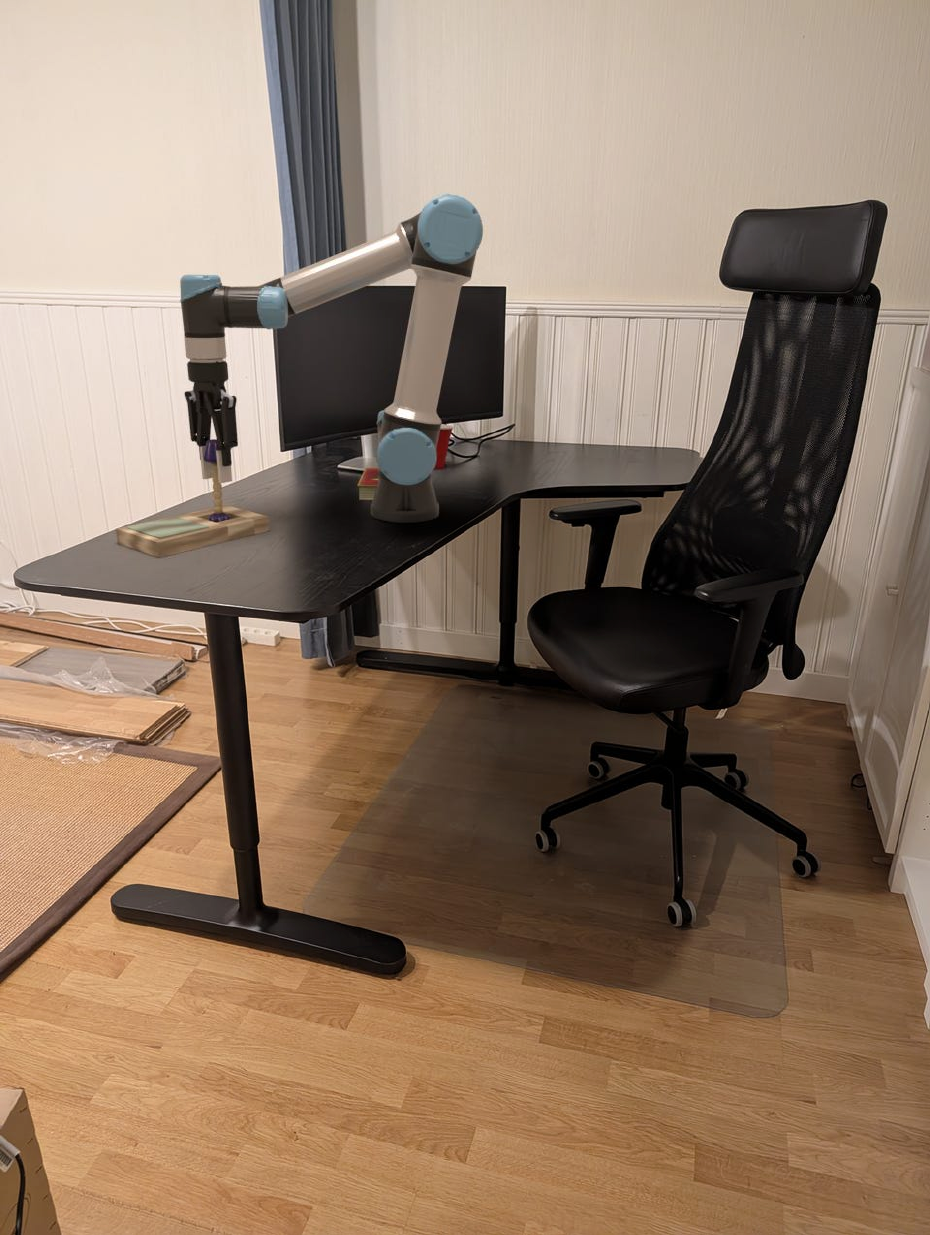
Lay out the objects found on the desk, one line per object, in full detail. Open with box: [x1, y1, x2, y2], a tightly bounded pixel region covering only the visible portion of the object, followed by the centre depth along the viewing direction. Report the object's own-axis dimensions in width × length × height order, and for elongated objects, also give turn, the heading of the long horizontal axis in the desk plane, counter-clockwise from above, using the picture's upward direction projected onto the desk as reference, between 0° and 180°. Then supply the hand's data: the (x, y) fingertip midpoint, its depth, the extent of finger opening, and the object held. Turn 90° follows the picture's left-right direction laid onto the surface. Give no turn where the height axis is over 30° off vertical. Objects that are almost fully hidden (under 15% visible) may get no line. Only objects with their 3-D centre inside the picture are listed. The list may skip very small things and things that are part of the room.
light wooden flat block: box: [115, 505, 270, 559], centre depth 180 cm, size 14×26×3 cm, turn 141°
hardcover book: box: [356, 467, 378, 501], centre depth 222 cm, size 12×21×4 cm, turn 0°
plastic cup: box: [433, 423, 455, 470], centre depth 248 cm, size 11×11×12 cm
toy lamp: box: [204, 438, 230, 523], centre depth 181 cm, size 5×5×17 cm
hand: (217, 479), depth 181 cm, fingers closed on toy lamp, 5 cm apart
